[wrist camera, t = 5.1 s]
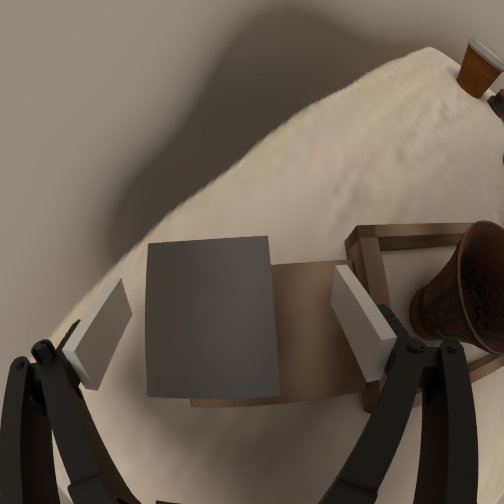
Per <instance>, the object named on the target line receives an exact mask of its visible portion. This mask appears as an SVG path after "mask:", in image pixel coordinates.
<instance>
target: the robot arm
mask: <svg viewBox="0 0 504 504" xmlns="http://www.w3.org/2000/svg"><path fill="white" fill-rule="evenodd" d="M331 306H332V308H333V310H334V312H335V314H336V316H337V318H338V320H339V322H340V324H341V326H342V329H343V331H344V333H345V335H346V337H347V339H348V342H349V344H350V346H351V348H352V350H353V353H354V355H355V357H356V359H357V361H358V364H359V366H360V368H361V370H362V373H363V375H364V377H365V380H366V382H371V381H375V380H380V379H381V378H382V375H383V373H384V371H385V373H386V375H387V379H386V382H385V384H384V386H383V388H382V390H381V394H380V396H379V398H378V400H377V403H376V405H375V407H374V409H373V411H372V414H371V416H370V418H369V420H368V422H367V424H366V426H365V428H364V430H363V432H362V434H361V436H360V438H359V439H358V441H357V443H356V445H355V447H354V449H353V450H352V452H351V454H350V456H349V457H348V459H347V461H346V462H345V464H344V466H343V467H342V469H341V471H340V472H339V474H338V475H337V477H336V479H335V480H334V482H333V483H332V485H331V486H330V488H329V489H328V491H327V492H326V494H325V495H324V496H323V498H322V499H321V500H320V502H319V503H318V504H374V503H375V501H376V499H377V496H378V493H377V491H378V489H379V487H380V485H381V483H382V481H383V479H384V477H385V474H386V472H387V470H388V468H389V466H390V464H391V462H392V459H393V457H394V455H395V452H396V450H397V447H398V445H399V443H400V440H401V437H402V435H403V432H404V429H405V427H406V424H407V421H408V418H409V415H410V412H411V409H412V406H413V403H414V399H415V396H416V393H417V389H418V388H422V432H421V448H420V459H419V468H418V476H417V483H416V489H415V495H414V501H413V504H477V490H478V437H477V424H476V414H475V406H474V399H473V392H472V386H471V381H470V375H469V370H468V365H467V361H466V356H465V352H464V348H463V346H462V345H461V344H460V343H459V342H458V341H456V340H454V339H445V340H443V341H442V343H441V344H440V347H426V346H425V344H424V343H423V342H422V341H420V340H418V339H415V338H411V337H410V335H409V334H408V333H407V331H406V330H405V328H404V327H403V325H402V324H401V323H400V322H399V320H398V318H397V317H395V314H394V313H393V312H392V310H391V309H390V308H388V307H387V306H385V305H384V304H381V305H375V303H374V302H373V300H372V299H371V298H370V296H369V295H368V293H367V292H366V290H365V289H364V288H363V286H362V285H361V283H360V282H359V281H358V279H357V278H356V276H355V275H354V274H353V272H352V271H351V270H350V268H349V267H348V265H336V266H335V271H334V280H333V289H332V298H331ZM131 316H132V312H131V308H130V305H129V302H128V299H127V296H126V293H125V289H124V286H123V282H122V279H121V278H111V279H110V280H109V281H108V283H107V284H106V285H105V287H104V288H103V289H102V291H101V292H100V294H99V295H98V296H97V298H96V299H95V301H94V302H93V303H92V305H91V306H90V308H89V309H88V311H87V312H86V314H85V315H84V316H83V318H82V319H81V320H77V321H76V322H75V323H74V324H73V325H72V326H71V327H70V329H69V330H68V332H67V333H66V335H65V337H64V338H63V339H62V341H61V342H60V344H59V346H58V347H57V349H56V350H55V348H54V346H53V344H52V342H51V341H50V340H46V339H44V340H41V341H39V342H37V343H36V344H35V345H34V346H33V348H32V350H31V353H32V355H33V357H34V358H35V360H36V362H37V363H30V362H29V360H28V359H27V357H24V356H21V357H18V358H16V359H15V360H14V361H13V362H12V364H11V366H10V370H9V375H8V380H7V385H6V390H5V396H4V402H3V409H2V417H1V428H0V504H60V499H59V494H58V488H57V482H56V475H55V467H54V457H53V445H52V431H53V434H54V437H55V441H56V444H57V447H58V450H59V453H60V456H61V458H62V461H63V464H64V467H65V469H66V472H67V474H68V477H69V479H70V482H71V484H70V485H69V486H68V492H69V495H70V497H71V499H72V501H73V503H74V504H141V503H140V502H139V501H138V500H137V498H136V497H135V496H134V495H133V494H132V493H131V491H130V490H129V488H128V487H127V485H126V483H125V482H124V480H123V478H122V477H121V475H120V473H119V472H118V470H117V468H116V466H115V464H114V463H113V461H112V459H111V457H110V455H109V453H108V451H107V449H106V447H105V445H104V443H103V441H102V439H101V437H100V435H99V433H98V431H97V429H96V426H95V424H94V422H93V419H92V417H91V415H90V412H89V410H88V407H87V405H86V402H85V400H84V397H83V394H82V392H81V390H80V388H79V387H78V386H79V384H80V382H82V384H83V385H84V387H85V388H86V389H90V390H96V391H98V389H99V386H100V384H101V381H102V379H103V377H104V374H105V372H106V370H107V367H108V365H109V363H110V360H111V358H112V356H113V354H114V352H115V349H116V347H117V345H118V343H119V341H120V339H121V336H122V334H123V332H124V330H125V328H126V326H127V324H128V322H129V320H130V318H131ZM156 504H178V503H170V502H163V501H157V500H156Z"/></svg>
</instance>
